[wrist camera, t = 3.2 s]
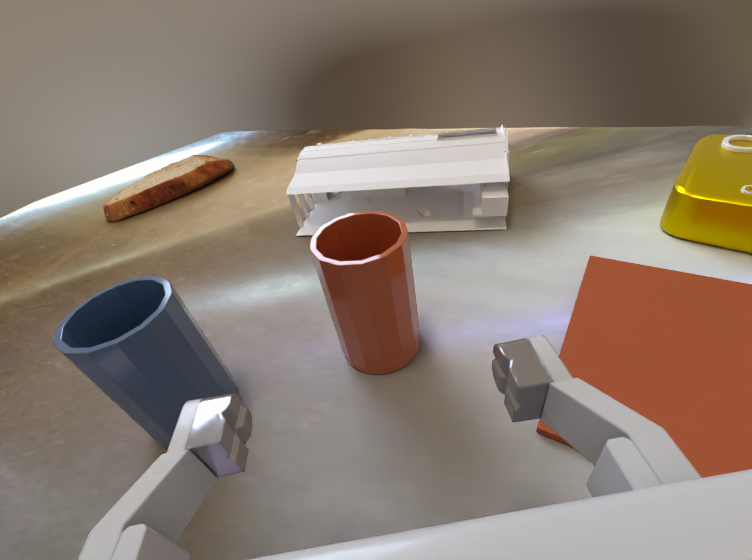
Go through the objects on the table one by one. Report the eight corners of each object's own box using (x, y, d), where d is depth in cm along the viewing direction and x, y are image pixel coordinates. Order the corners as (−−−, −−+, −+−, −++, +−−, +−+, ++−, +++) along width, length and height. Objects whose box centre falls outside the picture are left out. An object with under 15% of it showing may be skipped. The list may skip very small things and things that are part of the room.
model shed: (289, 236, 44) (270, 182, 39) (324, 182, 55) (312, 135, 50) (510, 229, 38) (516, 165, 33) (500, 170, 49) (503, 116, 44)
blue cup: (187, 467, 23) (84, 371, 17) (137, 425, 26) (34, 330, 20) (256, 393, 27) (192, 291, 20) (205, 363, 30) (136, 267, 23)
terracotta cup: (396, 387, 25) (373, 275, 19) (328, 357, 28) (289, 252, 22) (433, 328, 29) (425, 218, 23) (369, 307, 32) (346, 205, 26)
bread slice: (96, 224, 55) (80, 202, 53) (150, 177, 69) (139, 158, 67) (208, 207, 54) (197, 183, 52) (240, 162, 68) (232, 142, 66)
